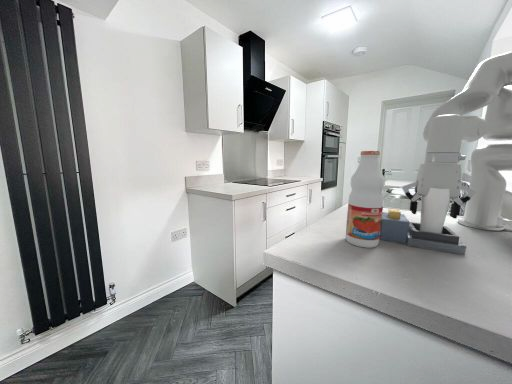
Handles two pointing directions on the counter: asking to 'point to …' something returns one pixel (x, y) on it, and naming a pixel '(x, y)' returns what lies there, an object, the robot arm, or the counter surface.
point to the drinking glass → (434, 210)
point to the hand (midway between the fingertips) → (432, 215)
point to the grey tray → (418, 234)
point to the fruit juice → (365, 202)
